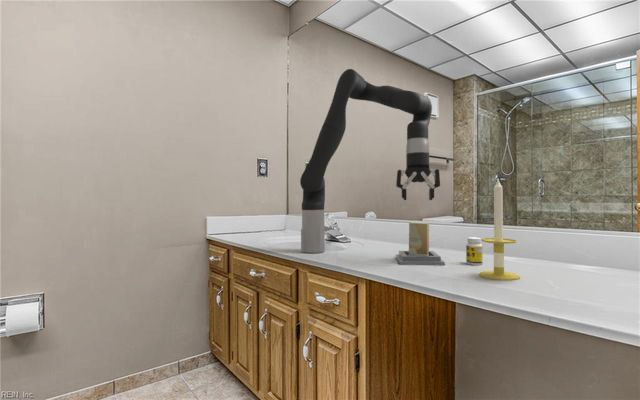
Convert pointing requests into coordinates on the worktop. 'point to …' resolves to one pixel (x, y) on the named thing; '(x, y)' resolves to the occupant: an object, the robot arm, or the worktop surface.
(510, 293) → the worktop surface
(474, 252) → the supplement bottle
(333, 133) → the robot arm
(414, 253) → the skincare box
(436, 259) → the gray square tray
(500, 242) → the candle
